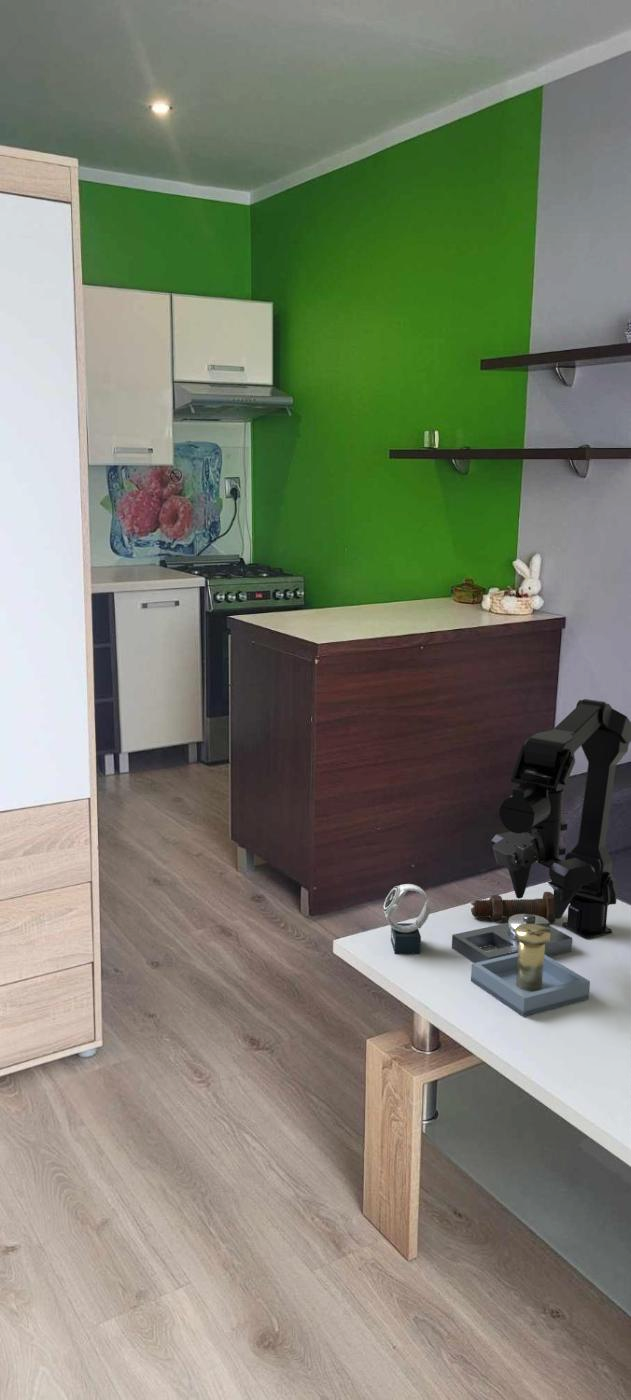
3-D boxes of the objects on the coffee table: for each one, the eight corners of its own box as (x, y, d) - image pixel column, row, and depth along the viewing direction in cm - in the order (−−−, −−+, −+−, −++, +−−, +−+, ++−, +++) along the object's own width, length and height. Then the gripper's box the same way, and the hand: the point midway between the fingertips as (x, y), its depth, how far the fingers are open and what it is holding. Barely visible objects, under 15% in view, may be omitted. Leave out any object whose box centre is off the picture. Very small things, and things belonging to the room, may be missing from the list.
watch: (379, 940, 185) (382, 880, 183) (425, 940, 186) (428, 880, 184) (383, 953, 180) (385, 892, 178) (430, 953, 180) (433, 892, 178)
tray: (533, 965, 177) (535, 948, 176) (588, 999, 166) (590, 981, 165) (470, 981, 171) (471, 963, 170) (523, 1016, 159) (524, 998, 159)
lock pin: (531, 975, 171) (535, 921, 170) (553, 989, 167) (557, 934, 165) (504, 981, 169) (508, 927, 167) (526, 996, 164) (530, 940, 162)
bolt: (470, 926, 197) (551, 925, 197) (474, 923, 192) (557, 922, 192) (469, 894, 199) (549, 893, 199) (472, 890, 194) (555, 889, 194)
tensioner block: (533, 930, 191) (535, 901, 190) (571, 951, 183) (573, 921, 181) (451, 948, 183) (453, 918, 182) (487, 971, 174) (489, 940, 173)
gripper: (466, 806, 172) (462, 896, 176) (543, 842, 156) (537, 940, 160) (520, 797, 178) (515, 884, 181) (600, 830, 162) (593, 925, 165)
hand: (538, 907), depth 172 cm, fingers open, 9 cm apart
